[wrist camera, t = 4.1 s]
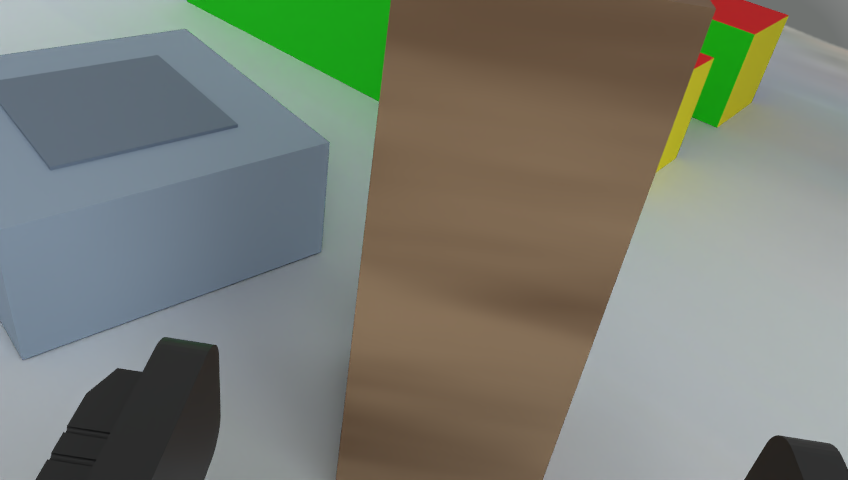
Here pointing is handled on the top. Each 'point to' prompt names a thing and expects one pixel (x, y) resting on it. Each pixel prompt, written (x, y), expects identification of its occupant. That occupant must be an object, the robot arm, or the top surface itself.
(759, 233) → the top surface
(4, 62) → the plinth
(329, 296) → the top surface
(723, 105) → the building blocks toy
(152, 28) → the top surface
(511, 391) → the pillar
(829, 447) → the robot arm
